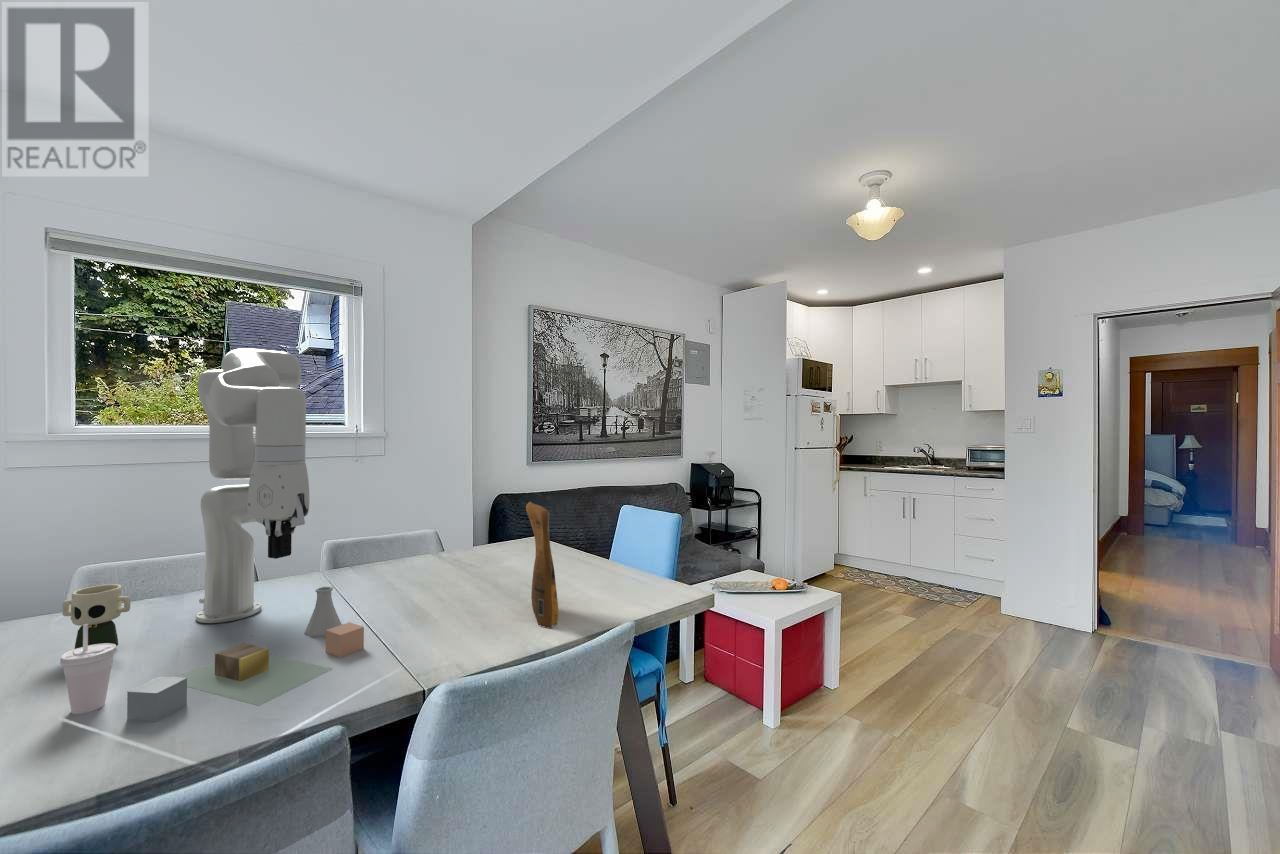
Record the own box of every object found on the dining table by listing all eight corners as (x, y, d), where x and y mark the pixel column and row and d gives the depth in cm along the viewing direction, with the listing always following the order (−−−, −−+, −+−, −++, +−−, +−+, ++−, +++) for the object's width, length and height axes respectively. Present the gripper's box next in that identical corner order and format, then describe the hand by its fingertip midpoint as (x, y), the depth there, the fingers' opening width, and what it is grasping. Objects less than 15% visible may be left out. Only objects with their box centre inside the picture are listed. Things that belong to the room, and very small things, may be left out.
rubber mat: (165, 682, 95) (165, 680, 95) (245, 651, 108) (245, 649, 108) (258, 707, 87) (258, 705, 87) (333, 670, 100) (333, 668, 100)
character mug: (48, 663, 101) (48, 596, 101) (75, 648, 108) (76, 586, 108) (118, 657, 104) (118, 592, 104) (140, 643, 111) (141, 582, 111)
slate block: (127, 723, 82) (127, 691, 82) (158, 706, 87) (159, 676, 87) (156, 725, 82) (157, 693, 82) (186, 707, 87) (186, 677, 87)
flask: (325, 640, 114) (325, 594, 114) (296, 637, 115) (297, 592, 115) (349, 628, 121) (350, 584, 121) (322, 625, 122) (323, 582, 122)
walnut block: (241, 681, 95) (214, 675, 97) (268, 669, 99) (242, 663, 102) (241, 659, 95) (215, 653, 97) (268, 648, 99) (243, 643, 102)
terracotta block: (325, 654, 107) (325, 630, 107) (349, 645, 112) (349, 622, 112) (340, 660, 105) (340, 635, 105) (363, 650, 109) (363, 626, 109)
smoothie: (86, 700, 88) (87, 617, 88) (127, 699, 89) (127, 616, 89) (46, 721, 82) (47, 632, 82) (90, 720, 83) (91, 631, 83)
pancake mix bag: (533, 633, 119) (534, 510, 119) (524, 605, 137) (525, 499, 137) (562, 630, 121) (564, 509, 121) (549, 603, 139) (551, 498, 139)
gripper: (230, 455, 94) (229, 557, 94) (290, 458, 89) (289, 566, 89) (271, 453, 101) (270, 548, 101) (330, 455, 96) (329, 555, 96)
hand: (279, 556), depth 95 cm, fingers closed
